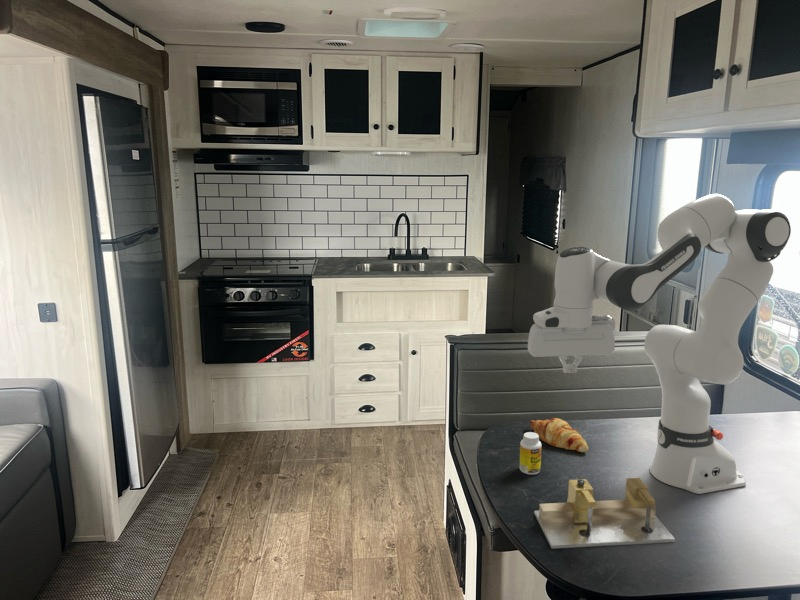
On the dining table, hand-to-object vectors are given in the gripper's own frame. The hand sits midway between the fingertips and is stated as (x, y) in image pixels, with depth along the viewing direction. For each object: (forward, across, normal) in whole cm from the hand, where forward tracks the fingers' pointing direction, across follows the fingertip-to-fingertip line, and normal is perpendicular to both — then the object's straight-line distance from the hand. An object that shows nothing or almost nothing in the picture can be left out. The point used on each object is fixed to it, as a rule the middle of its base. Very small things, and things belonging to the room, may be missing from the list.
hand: (569, 372), depth 141 cm
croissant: (+32, -7, -26) cm, 41 cm away
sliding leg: (+30, +1, +16) cm, 34 cm away
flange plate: (+31, -3, +16) cm, 35 cm away
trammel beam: (+30, -3, +16) cm, 34 cm away
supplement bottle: (+31, +6, -10) cm, 33 cm away
